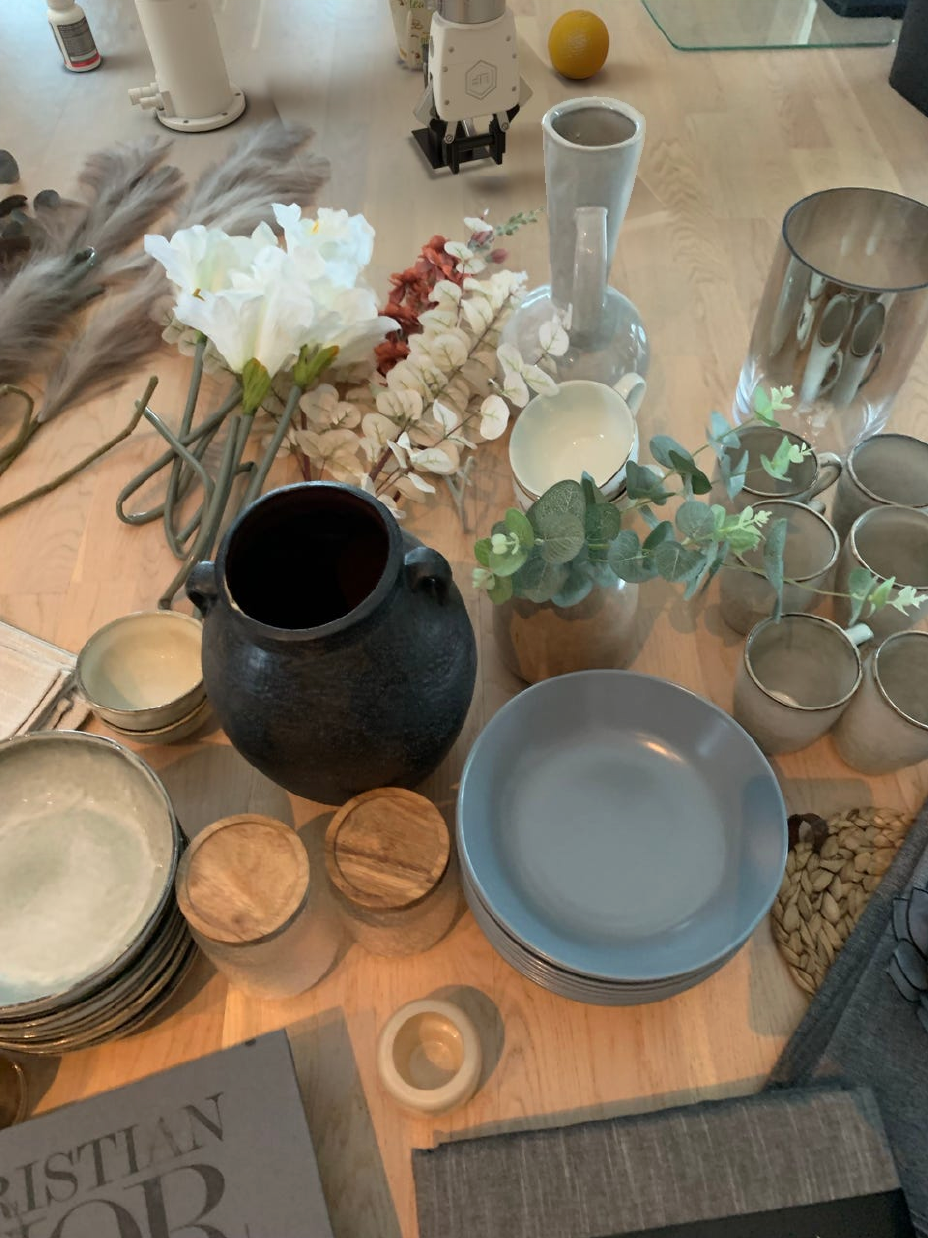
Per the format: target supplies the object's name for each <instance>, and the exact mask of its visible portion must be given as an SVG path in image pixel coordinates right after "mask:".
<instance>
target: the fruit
mask: <svg viewBox="0 0 928 1238" xmlns="http://www.w3.org/2000/svg"><path fill="white" fill-rule="evenodd" d="M548 35H549V36H548V39H547V47H548V48H547V49H548V55H549V59H550V62H551V65H552V68H554V70H555V71H556V72H557V73H558V74H560V75H561V76H563V77H565V78H568V79H572V80H584V79H588V78H590V77H592V76H594V75H595V74H597V73H598V72H599V71H600V70H601V69H602V68H603V66H604V65H605V63H606V61H607V58H608V55H609V51H610V50H609V49H610V33H609V30H608V27H607V26H606V24H605V22H604V21H603V20H602V19H601V17H599V16H598V15H597V14H595V13H594V12H591V11H589V10H586V9H574V10H569V11H567V12H564V13H563V14H562V15H561V16H559V18H557V19H556V20H555V22H554V24H553V25H552V27H551V28H550V32H549V34H548Z"/></svg>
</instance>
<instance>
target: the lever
mask: <svg viewBox="0 0 928 1238" xmlns="http://www.w3.org/2000/svg"><path fill="white" fill-rule="evenodd" d="M472 120H473V118H471V119H466V120H461V122H462V125H463V128H464V131H465V134H466V137H465V138H460V139H456V140H457V142H458V144H459V152H462V151H467V150H472V149H476V148H481V147H485V148H486V147H489V146H490V145H494V143H495V138H494V134H493V132H489V131H488V132H484V133H479V134H478V133H477V130H476V128H475V124H474V122H473V121H474V120H473V121H472Z"/></svg>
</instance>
